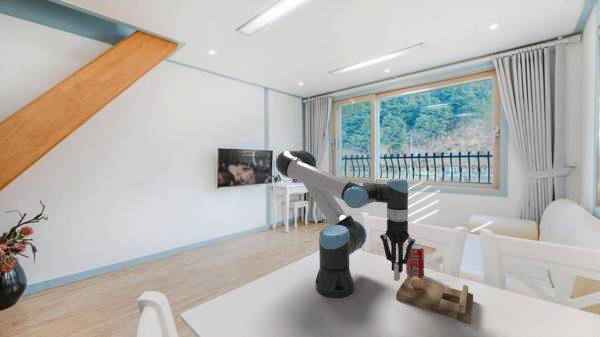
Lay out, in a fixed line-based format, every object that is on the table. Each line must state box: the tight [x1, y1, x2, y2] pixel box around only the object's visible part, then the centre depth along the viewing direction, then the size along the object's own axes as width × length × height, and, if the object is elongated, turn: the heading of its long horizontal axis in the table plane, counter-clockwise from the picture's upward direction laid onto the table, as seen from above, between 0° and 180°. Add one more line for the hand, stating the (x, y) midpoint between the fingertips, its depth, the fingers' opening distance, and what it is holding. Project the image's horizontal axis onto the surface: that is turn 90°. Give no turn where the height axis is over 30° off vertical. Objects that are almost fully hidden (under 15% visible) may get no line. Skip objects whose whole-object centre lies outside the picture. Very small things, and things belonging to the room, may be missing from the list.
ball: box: [410, 277, 423, 289], centre depth 91 cm, size 4×4×4 cm
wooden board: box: [395, 275, 474, 324], centre depth 88 cm, size 22×15×5 cm
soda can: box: [405, 243, 425, 279], centre depth 106 cm, size 7×7×13 cm
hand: (397, 279), depth 96 cm, fingers closed
